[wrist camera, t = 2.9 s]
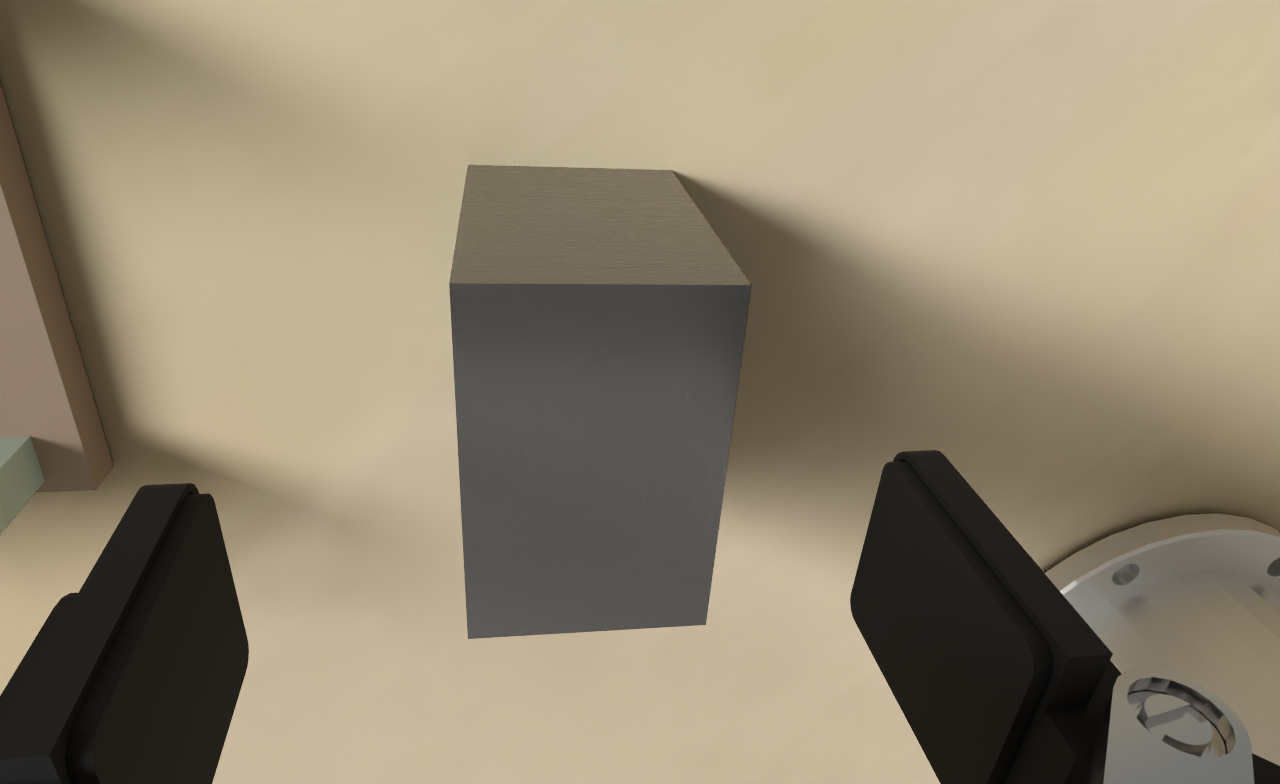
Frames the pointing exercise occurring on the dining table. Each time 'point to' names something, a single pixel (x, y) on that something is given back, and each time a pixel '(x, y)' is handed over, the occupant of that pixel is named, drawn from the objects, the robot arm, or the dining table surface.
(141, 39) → the dining table surface
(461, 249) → the tall grey upright block
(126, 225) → the dining table surface
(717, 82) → the dining table surface
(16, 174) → the post slot
